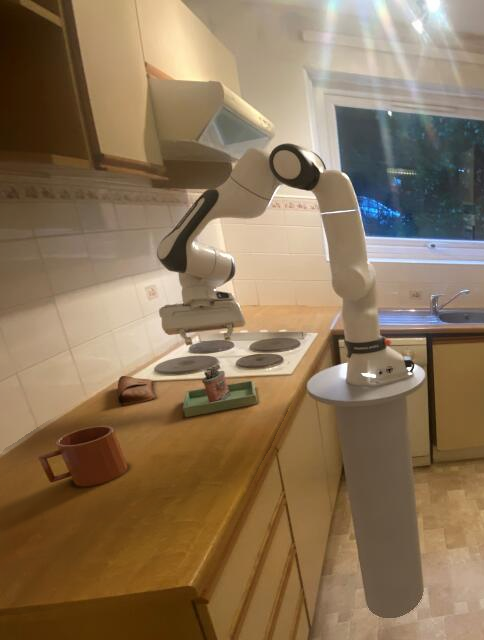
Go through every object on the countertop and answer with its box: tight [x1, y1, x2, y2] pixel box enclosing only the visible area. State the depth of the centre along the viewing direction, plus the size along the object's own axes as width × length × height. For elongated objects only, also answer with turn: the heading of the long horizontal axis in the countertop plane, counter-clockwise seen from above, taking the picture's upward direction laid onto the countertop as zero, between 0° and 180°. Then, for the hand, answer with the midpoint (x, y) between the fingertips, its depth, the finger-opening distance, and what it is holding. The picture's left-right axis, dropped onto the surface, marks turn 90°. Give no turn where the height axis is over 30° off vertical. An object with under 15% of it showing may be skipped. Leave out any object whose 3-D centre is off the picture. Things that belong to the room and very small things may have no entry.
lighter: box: [201, 363, 230, 403], centre depth 125 cm, size 8×3×10 cm, turn 4°
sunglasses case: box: [117, 375, 156, 406], centre depth 131 cm, size 18×7×7 cm
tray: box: [182, 380, 258, 418], centre depth 126 cm, size 17×13×3 cm
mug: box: [37, 425, 128, 487], centre depth 90 cm, size 12×9×10 cm
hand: (208, 341), depth 126 cm, fingers open, 8 cm apart
